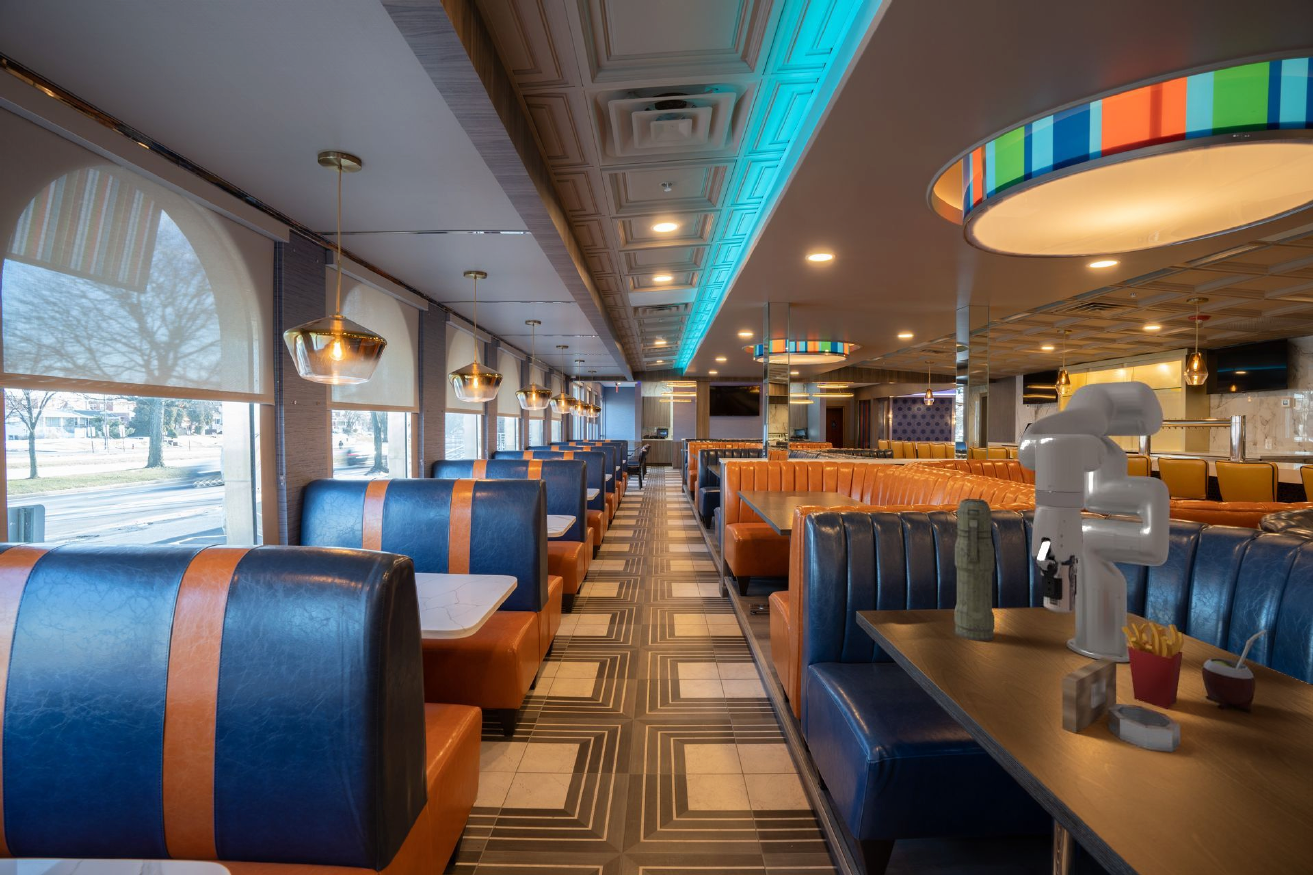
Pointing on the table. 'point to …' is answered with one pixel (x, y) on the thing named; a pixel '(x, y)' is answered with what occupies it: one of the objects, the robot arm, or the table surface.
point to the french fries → (1155, 664)
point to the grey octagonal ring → (1144, 727)
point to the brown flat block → (1088, 694)
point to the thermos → (974, 571)
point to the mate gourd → (1230, 680)
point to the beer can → (1064, 588)
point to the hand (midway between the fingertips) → (1059, 594)
